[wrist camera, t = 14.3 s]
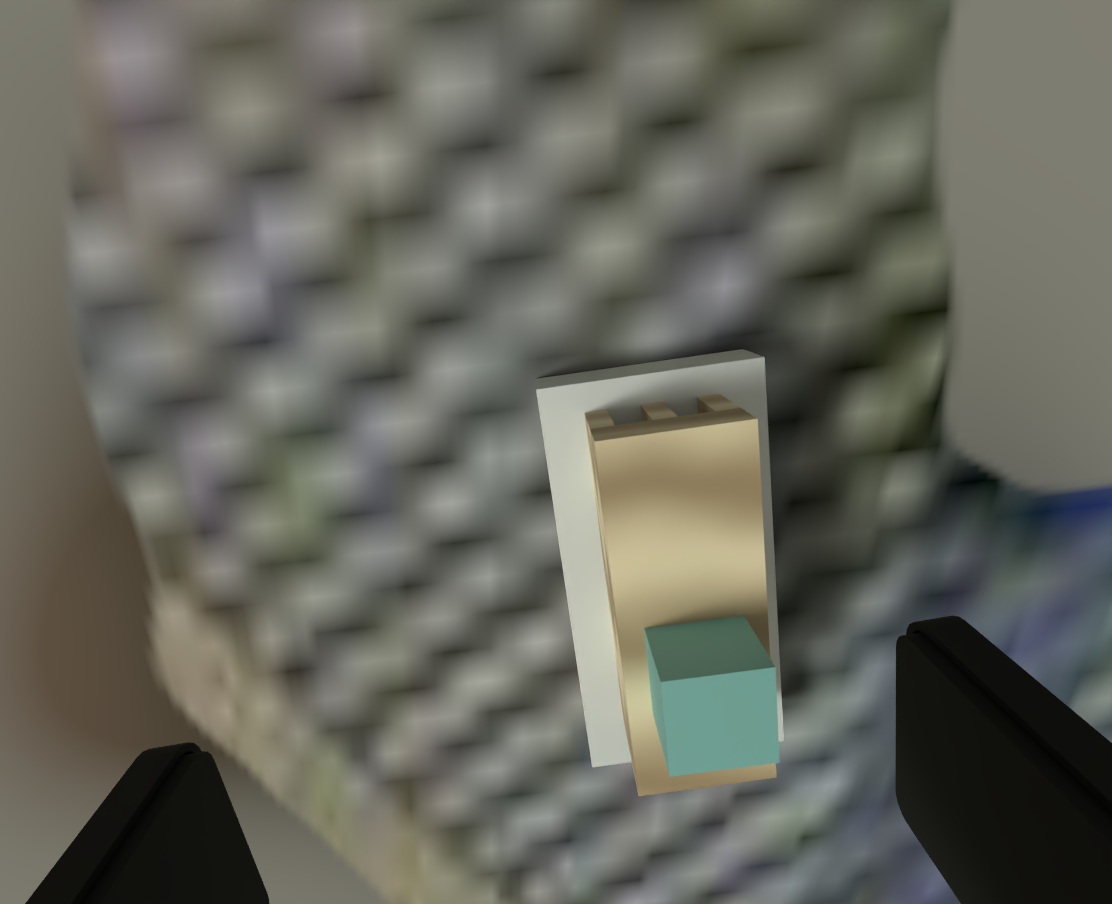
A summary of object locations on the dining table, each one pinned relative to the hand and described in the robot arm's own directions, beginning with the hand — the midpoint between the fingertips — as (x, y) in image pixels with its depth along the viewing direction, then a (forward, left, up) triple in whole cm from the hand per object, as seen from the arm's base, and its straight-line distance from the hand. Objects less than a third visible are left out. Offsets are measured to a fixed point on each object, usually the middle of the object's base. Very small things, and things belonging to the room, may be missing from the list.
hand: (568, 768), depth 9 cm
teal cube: (+10, +5, -15) cm, 19 cm away
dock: (+8, +5, -23) cm, 25 cm away
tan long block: (+8, +5, -20) cm, 22 cm away
